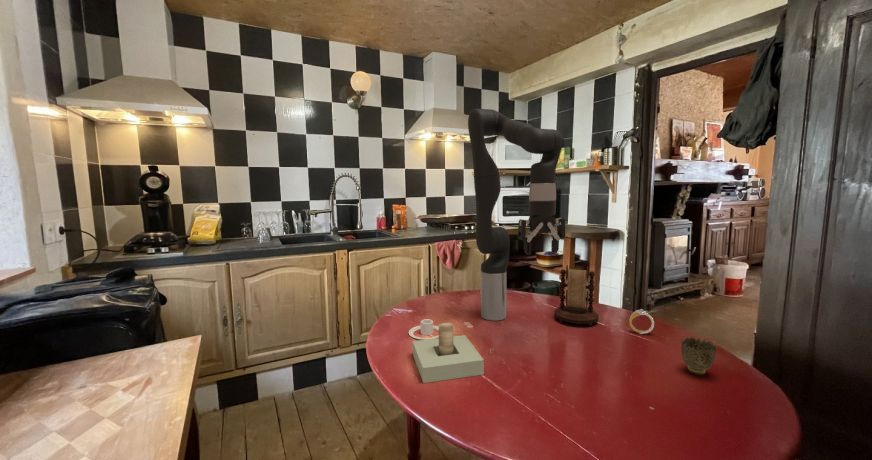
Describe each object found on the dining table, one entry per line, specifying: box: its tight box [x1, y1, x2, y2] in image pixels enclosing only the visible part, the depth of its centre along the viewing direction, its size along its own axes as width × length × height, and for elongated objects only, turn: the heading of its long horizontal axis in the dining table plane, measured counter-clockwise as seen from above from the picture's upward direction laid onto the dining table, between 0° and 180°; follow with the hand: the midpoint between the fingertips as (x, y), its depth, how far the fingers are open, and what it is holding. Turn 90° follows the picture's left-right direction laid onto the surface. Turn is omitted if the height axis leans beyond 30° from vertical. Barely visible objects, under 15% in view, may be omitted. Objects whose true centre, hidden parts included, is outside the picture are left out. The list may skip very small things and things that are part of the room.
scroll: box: [553, 264, 599, 327], centre depth 129 cm, size 15×15×20 cm
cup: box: [680, 336, 718, 376], centre depth 93 cm, size 8×7×8 cm
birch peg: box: [438, 322, 454, 356], centre depth 100 cm, size 4×4×11 cm
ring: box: [628, 308, 655, 335], centre depth 117 cm, size 7×3×8 cm, turn 61°
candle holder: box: [408, 318, 439, 340], centre depth 121 cm, size 12×12×4 cm
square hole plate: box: [411, 334, 485, 384], centre depth 100 cm, size 16×16×4 cm
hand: (541, 253), depth 108 cm, fingers open, 8 cm apart
